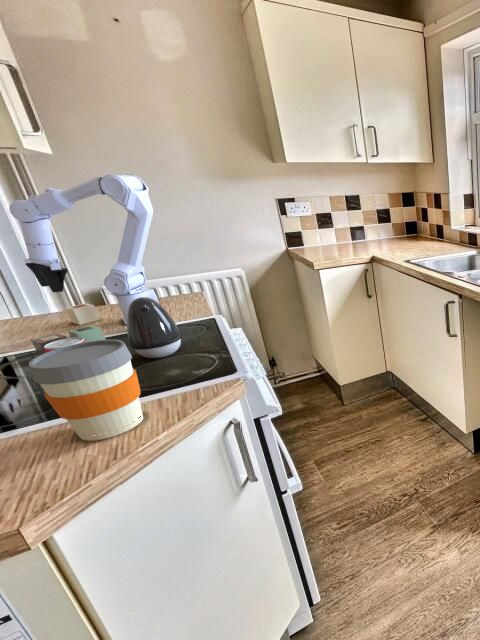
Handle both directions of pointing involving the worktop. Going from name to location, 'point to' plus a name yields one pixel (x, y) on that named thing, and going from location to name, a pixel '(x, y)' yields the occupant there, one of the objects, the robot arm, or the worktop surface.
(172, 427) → the worktop surface
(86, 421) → the reusable coffee cup
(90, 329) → the block
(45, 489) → the worktop surface
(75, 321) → the block
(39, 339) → the block
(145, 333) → the black egg shaped device
